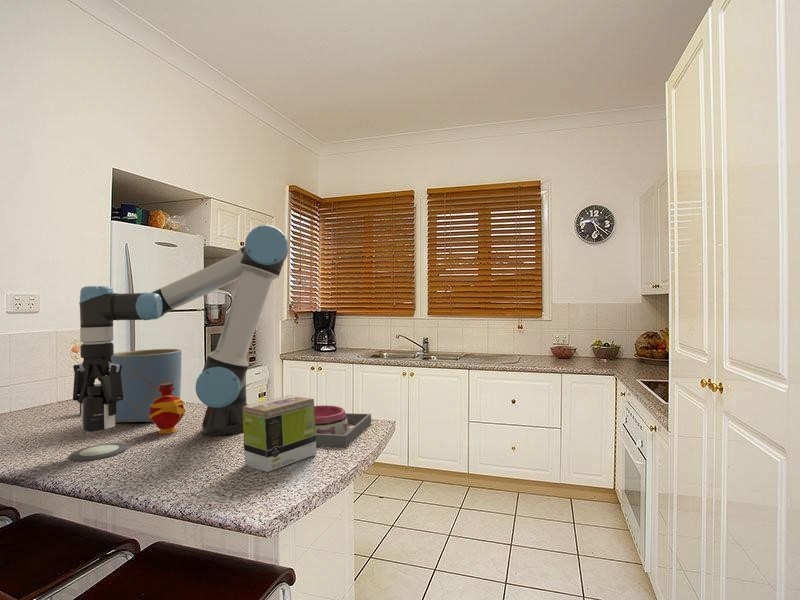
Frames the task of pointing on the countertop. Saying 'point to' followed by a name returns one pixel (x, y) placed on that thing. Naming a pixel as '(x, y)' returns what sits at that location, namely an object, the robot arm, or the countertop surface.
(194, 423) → the countertop surface
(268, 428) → the tea box
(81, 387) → the robot arm
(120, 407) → the planter
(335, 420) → the dog bowl
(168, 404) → the potion bottle
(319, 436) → the bowl mat frame
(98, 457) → the plate
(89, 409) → the supplement bottle
